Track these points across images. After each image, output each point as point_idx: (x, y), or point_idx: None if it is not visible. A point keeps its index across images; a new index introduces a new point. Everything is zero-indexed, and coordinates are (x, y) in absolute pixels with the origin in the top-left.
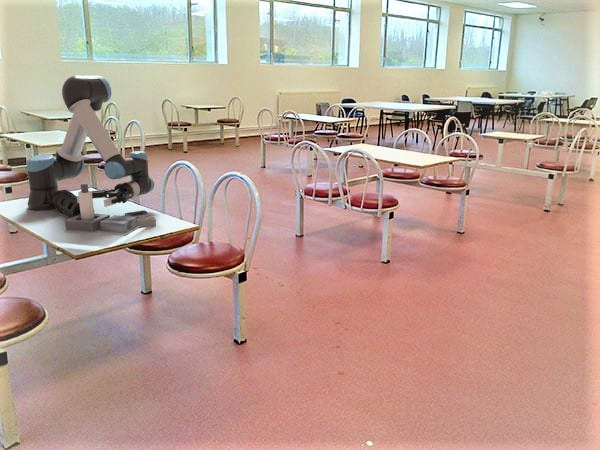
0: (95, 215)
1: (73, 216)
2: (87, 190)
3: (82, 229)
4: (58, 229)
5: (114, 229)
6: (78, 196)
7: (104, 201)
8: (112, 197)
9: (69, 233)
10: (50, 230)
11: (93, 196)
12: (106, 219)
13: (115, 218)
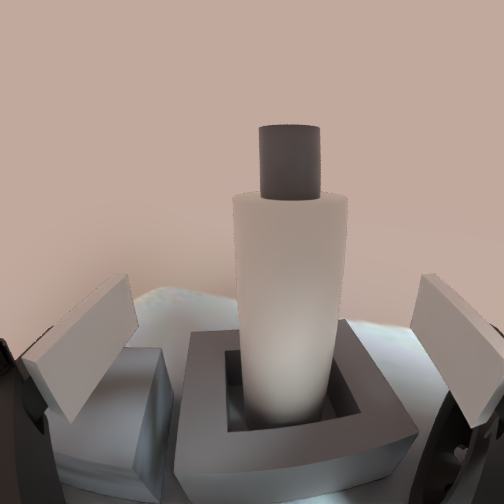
0: (276, 430)
1: (441, 406)
2: (260, 178)
3: None
4: (407, 375)
5: None
6: (427, 276)
7: (124, 286)
8: (61, 329)
9: None
10: (416, 357)
11: (500, 444)
12: (144, 383)
13: (97, 404)
